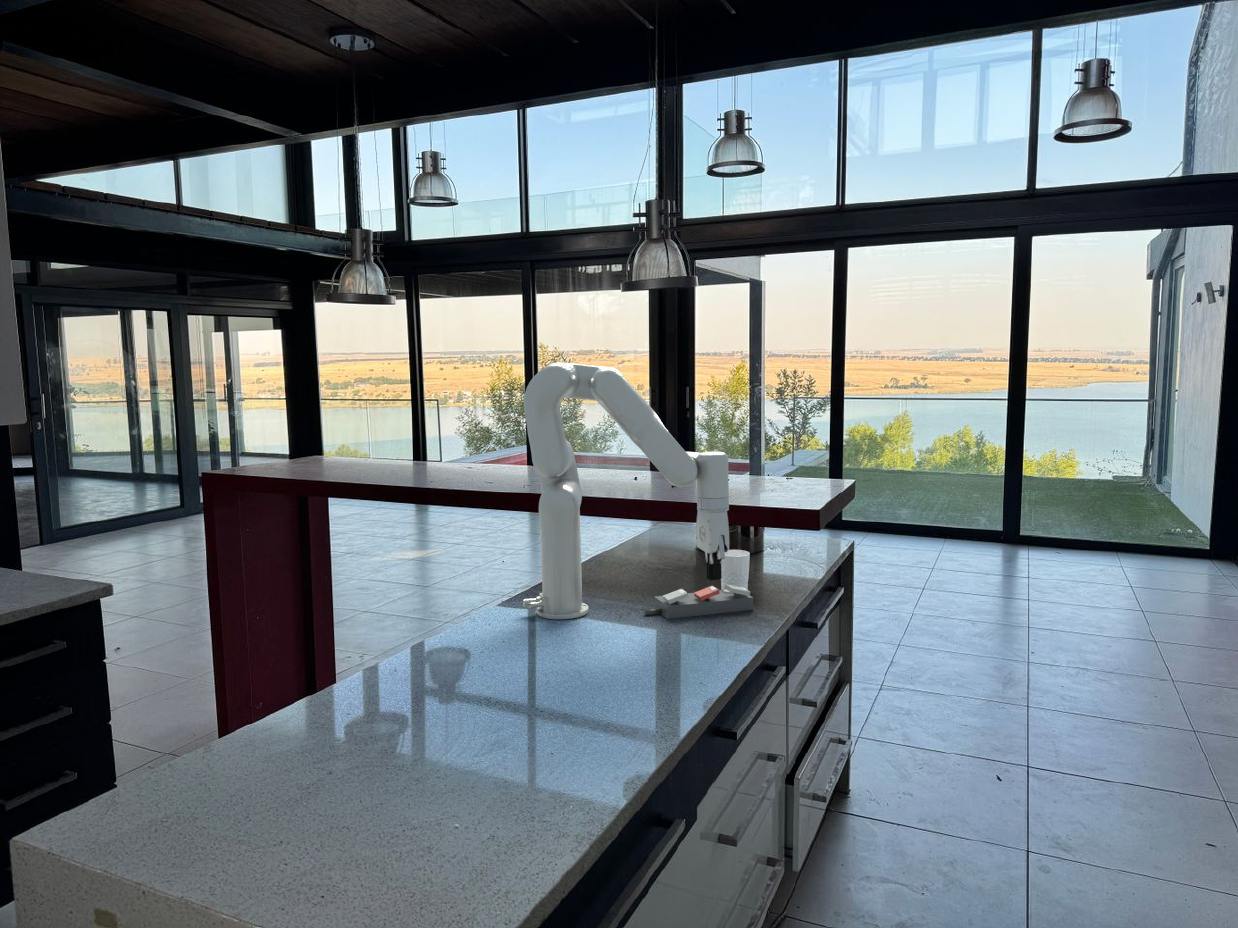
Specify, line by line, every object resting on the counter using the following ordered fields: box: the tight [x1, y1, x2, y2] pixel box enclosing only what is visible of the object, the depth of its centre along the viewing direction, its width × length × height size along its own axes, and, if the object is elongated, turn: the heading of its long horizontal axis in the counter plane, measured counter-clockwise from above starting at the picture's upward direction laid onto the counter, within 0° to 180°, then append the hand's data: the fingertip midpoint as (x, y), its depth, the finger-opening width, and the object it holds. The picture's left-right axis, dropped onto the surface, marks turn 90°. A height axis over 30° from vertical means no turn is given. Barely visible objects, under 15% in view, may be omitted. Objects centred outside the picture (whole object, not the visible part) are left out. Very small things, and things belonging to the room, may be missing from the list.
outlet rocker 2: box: [693, 585, 720, 601], centre depth 206 cm, size 5×4×1 cm
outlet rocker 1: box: [662, 588, 689, 604], centre depth 203 cm, size 5×4×1 cm
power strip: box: [643, 589, 754, 620], centre depth 207 cm, size 26×9×4 cm, turn 107°
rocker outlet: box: [725, 584, 751, 596], centre depth 208 cm, size 5×4×1 cm
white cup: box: [720, 549, 751, 591], centre depth 224 cm, size 8×8×10 cm
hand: (714, 578), depth 206 cm, fingers closed
